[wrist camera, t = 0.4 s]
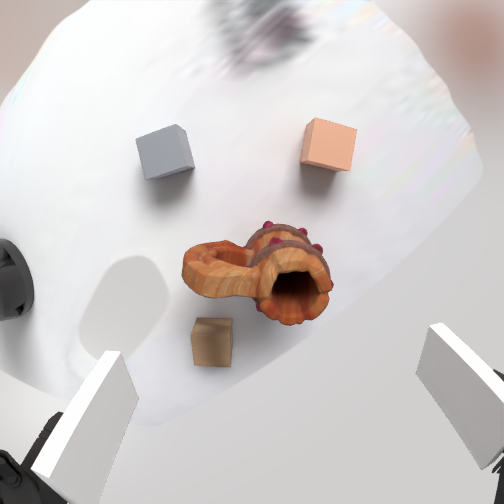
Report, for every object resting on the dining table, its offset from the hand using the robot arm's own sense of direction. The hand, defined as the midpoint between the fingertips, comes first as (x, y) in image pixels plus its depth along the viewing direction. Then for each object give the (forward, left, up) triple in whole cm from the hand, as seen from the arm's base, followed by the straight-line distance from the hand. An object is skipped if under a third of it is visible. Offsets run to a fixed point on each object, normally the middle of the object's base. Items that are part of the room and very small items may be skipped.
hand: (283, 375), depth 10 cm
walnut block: (-6, -15, -27) cm, 31 cm away
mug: (0, -2, -27) cm, 27 cm away
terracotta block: (+8, +11, -27) cm, 30 cm away
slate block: (-11, +10, -27) cm, 31 cm away
